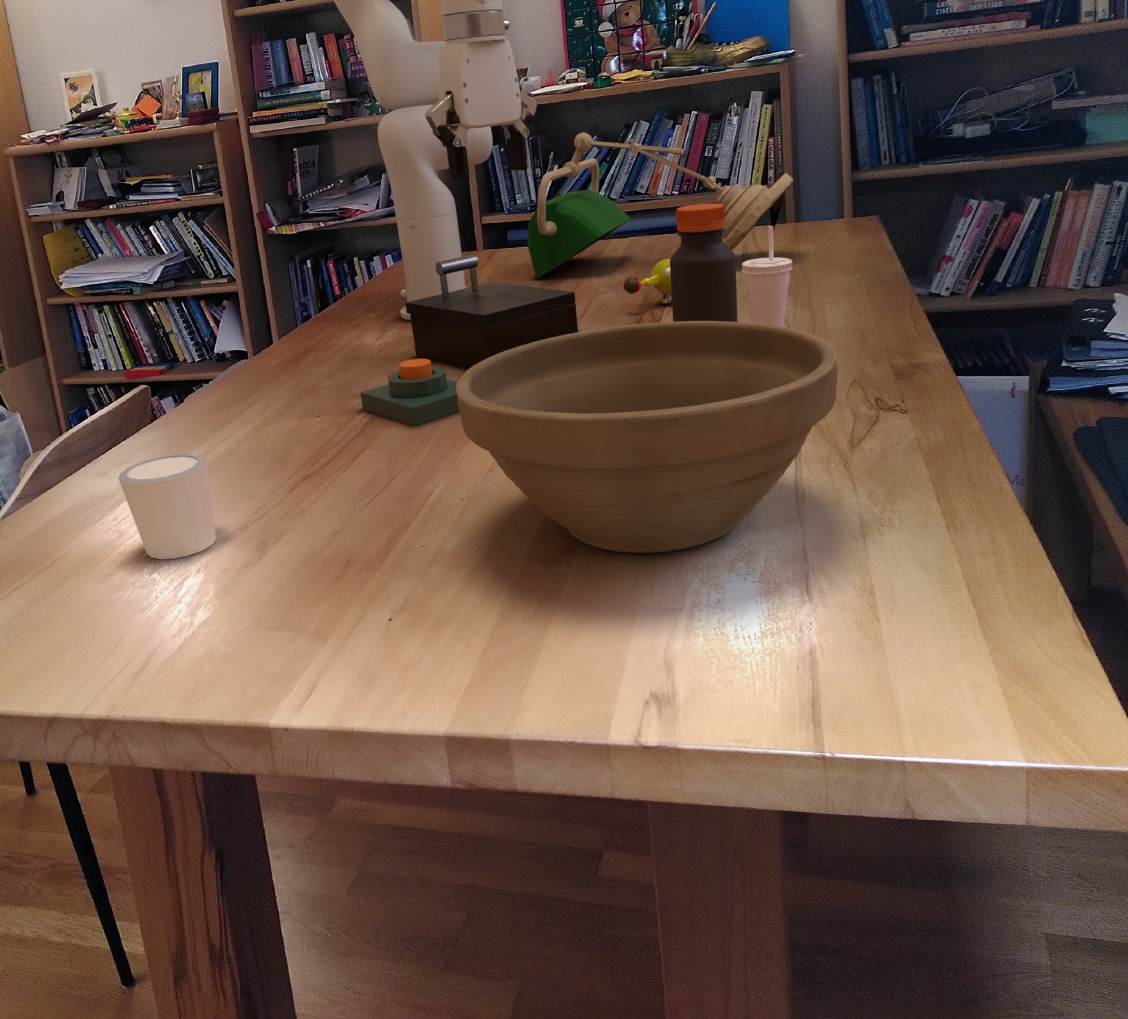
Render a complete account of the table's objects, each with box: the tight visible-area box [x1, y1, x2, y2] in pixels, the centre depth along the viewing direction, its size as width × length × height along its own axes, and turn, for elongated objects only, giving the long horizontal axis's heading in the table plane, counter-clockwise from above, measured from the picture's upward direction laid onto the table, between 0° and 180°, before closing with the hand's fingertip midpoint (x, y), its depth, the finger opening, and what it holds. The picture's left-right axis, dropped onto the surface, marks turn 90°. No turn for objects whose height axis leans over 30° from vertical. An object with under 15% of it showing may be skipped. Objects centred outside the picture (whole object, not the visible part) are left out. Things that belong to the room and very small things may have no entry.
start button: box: [398, 358, 433, 380], centre depth 118 cm, size 4×4×2 cm
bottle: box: [669, 203, 739, 322], centre depth 110 cm, size 7×7×20 cm
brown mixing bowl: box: [456, 321, 838, 554], centre depth 81 cm, size 28×28×13 cm
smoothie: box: [741, 225, 793, 328], centre depth 133 cm, size 6×6×14 cm
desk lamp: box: [527, 132, 794, 279], centre depth 191 cm, size 35×42×39 cm
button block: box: [359, 366, 460, 427], centre depth 119 cm, size 11×9×4 cm
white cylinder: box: [118, 453, 217, 560], centre depth 86 cm, size 7×7×7 cm
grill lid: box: [404, 254, 576, 327], centre depth 138 cm, size 18×15×6 cm
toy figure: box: [623, 258, 672, 306], centre depth 160 cm, size 18×6×7 cm, turn 131°
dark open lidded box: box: [410, 303, 579, 370], centre depth 140 cm, size 17×15×6 cm
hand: (490, 174), depth 135 cm, fingers open, 9 cm apart
